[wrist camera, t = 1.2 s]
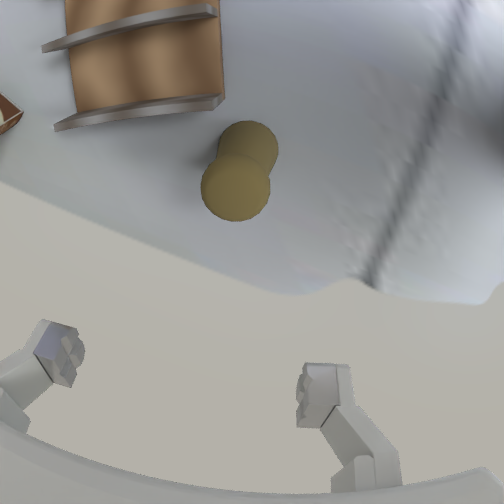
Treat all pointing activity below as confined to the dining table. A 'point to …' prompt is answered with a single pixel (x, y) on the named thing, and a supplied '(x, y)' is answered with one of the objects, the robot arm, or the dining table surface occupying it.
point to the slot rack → (141, 58)
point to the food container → (8, 113)
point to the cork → (240, 172)
